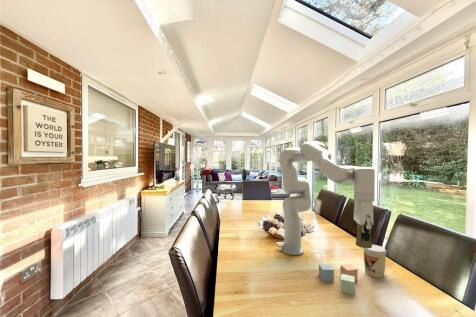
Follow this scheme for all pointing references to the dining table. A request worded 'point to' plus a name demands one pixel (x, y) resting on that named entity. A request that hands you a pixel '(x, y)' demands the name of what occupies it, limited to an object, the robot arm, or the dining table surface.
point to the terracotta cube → (349, 271)
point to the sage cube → (347, 283)
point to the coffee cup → (375, 260)
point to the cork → (363, 239)
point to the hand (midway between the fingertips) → (363, 239)
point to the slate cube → (326, 272)
